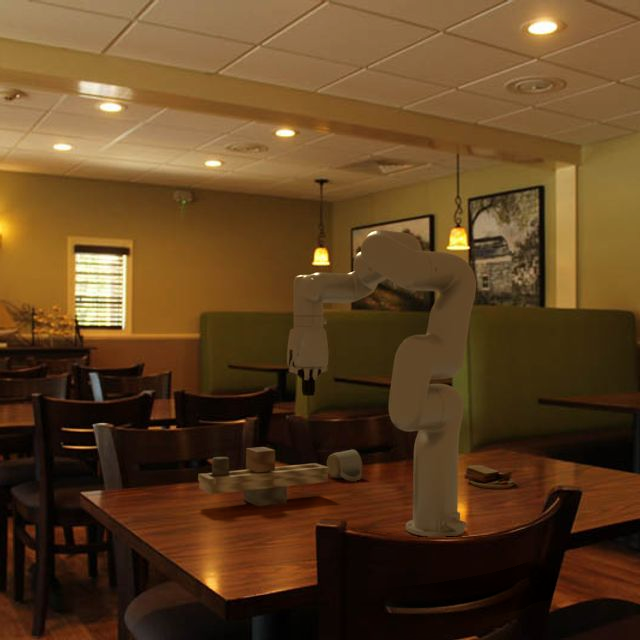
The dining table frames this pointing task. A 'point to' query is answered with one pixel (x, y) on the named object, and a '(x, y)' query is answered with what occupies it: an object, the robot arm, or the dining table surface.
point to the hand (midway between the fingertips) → (308, 395)
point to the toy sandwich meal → (488, 477)
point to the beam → (260, 481)
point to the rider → (260, 459)
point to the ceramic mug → (345, 465)
